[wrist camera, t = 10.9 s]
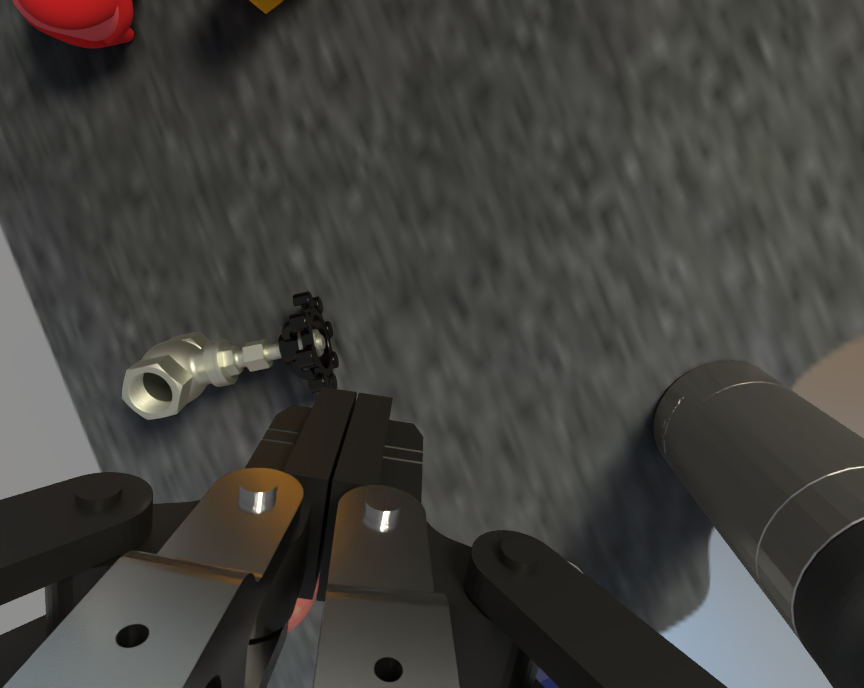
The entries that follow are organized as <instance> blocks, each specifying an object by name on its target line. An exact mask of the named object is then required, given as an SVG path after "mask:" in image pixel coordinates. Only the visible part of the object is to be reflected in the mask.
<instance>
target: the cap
mask: <svg viewBox="0 0 864 688" xmlns="http://www.w3.org/2000/svg"><path fill="white" fill-rule="evenodd" d="M13 2H14V4H15V6H16V7H17V9H18V10H19V11H20V12H21V14H22V15H23V16H24V18H25V19H26V20H27V21H28V22H29V23H30V24H31V25H32V26H34V27H35V28H36V29H38V30H40V31H41V32H43V33H45V34H47V35H49V36H52V37H54V38H56V39H58V40H61V41H63V42H66V43H69V44H72V45H75V46H78V47H83V48H103V47H108V46H112V45H117V44H121V43H126V42H130V41H132V39H133V38H134V32H133V30H132V29H131V28H129V27H130V26H131V24H132V21H133V14H134V10H133V3H132V0H13Z"/></svg>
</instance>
